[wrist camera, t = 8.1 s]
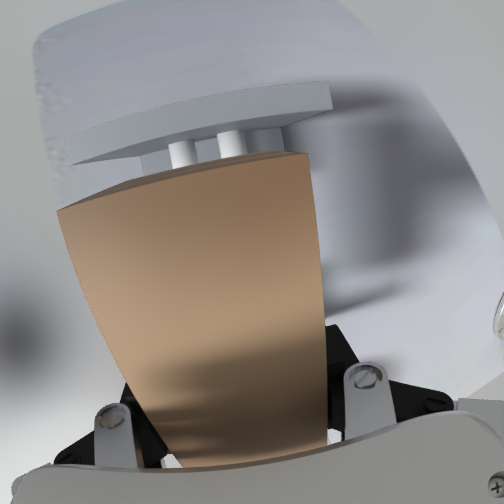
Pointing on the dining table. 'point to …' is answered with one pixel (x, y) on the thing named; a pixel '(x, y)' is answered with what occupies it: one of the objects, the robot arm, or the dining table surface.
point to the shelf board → (212, 303)
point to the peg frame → (202, 127)
